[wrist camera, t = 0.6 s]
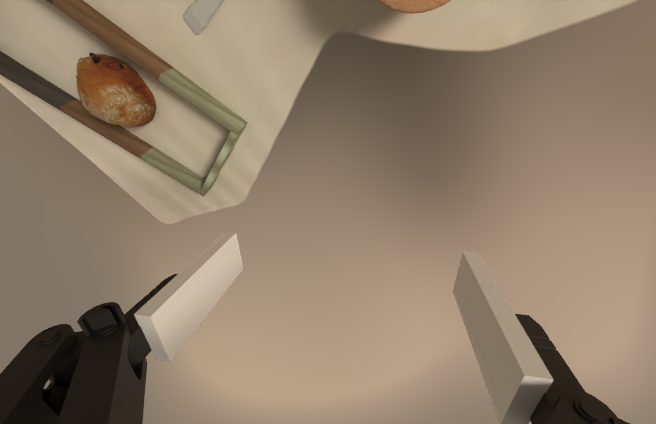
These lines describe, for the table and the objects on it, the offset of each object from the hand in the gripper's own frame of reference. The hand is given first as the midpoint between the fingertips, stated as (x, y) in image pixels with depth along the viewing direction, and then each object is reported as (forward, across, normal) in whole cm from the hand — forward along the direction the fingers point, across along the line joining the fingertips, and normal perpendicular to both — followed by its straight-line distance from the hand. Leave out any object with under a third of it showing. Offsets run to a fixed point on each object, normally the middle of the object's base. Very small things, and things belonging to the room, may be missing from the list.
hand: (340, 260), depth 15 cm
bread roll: (+26, -38, +10) cm, 47 cm away
